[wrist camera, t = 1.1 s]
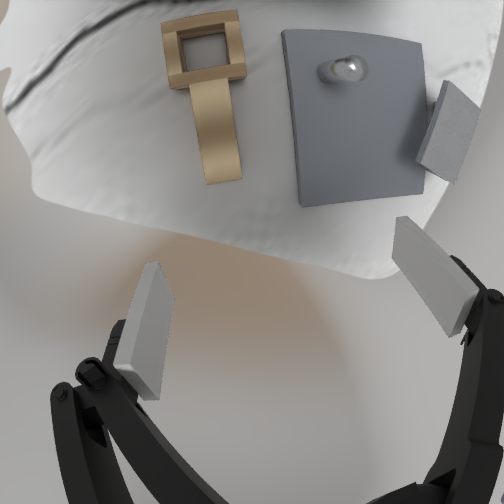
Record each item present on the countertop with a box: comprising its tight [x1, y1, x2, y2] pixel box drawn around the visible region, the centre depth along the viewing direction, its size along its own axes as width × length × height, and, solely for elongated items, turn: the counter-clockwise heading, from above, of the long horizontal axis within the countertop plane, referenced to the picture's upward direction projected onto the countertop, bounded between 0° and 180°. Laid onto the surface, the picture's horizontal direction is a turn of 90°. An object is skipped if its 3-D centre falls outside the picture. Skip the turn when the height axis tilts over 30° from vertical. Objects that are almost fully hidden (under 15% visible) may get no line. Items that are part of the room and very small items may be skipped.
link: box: [161, 10, 247, 185], centre depth 24 cm, size 17×7×4 cm, turn 7°
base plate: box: [281, 30, 427, 208], centre depth 27 cm, size 20×17×2 cm
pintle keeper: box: [317, 55, 481, 185], centre depth 25 cm, size 13×19×8 cm
